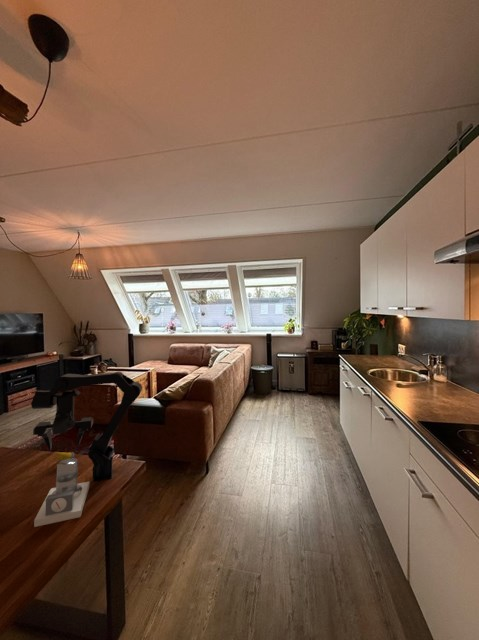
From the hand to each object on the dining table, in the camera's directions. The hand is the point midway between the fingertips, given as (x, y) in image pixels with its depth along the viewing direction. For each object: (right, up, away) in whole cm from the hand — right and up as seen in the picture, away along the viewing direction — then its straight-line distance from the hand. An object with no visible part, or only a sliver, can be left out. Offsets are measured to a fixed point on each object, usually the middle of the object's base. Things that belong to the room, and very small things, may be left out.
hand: (64, 447), depth 101 cm
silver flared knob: (+9, -5, -12) cm, 15 cm away
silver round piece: (+9, -10, -12) cm, 17 cm away
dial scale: (+9, -13, -14) cm, 21 cm away
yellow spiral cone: (-6, -13, +10) cm, 18 cm away
